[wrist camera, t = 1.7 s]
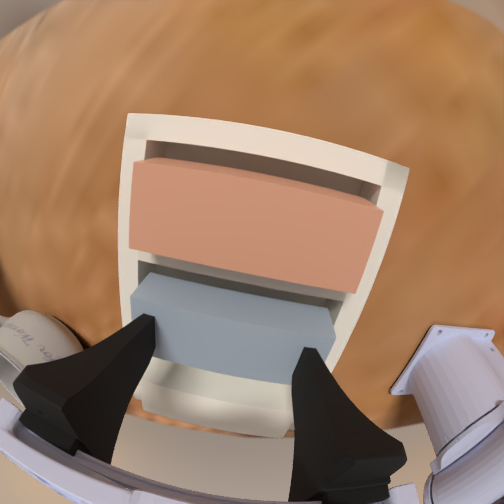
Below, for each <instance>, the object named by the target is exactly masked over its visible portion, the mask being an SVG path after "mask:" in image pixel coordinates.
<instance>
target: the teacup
mask: <svg viewBox="0 0 504 504" xmlns="http://www.w3.org/2000/svg"><path fill="white" fill-rule="evenodd" d="M0 326H1V327H0V382H1V384H2V385H3V386H4V387H5V389H6V390H7V391H8V392H9V393H10V394H11V395H12V396H13V397H14V398H15V399H16V400H17V401H18V402H19V403H20V404H21V405H22V406H24V405H23V403H22V402H21V400H20V399H19V397H18V396H17V394H16V392H15V390H14V388H13V382H14V380H15V379H16V378H17V377H18V375H19V374H20V373H21V372H22V370H23V369H24V368H25V367H26V366H27V365H32V364H39V363H45V362H50V361H54V360H58V359H61V358H64V357H67V356H70V355H73V354H76V353H78V352H81V351H83V350H84V349H83V347H82V345H81V344H80V342H79V341H78V339H77V338H76V337H75V335H74V334H73V333H72V332H71V331H70V330H69V329H68V328H67V327H66V326H65V325H64V324H63V323H61V322H60V321H59V320H57V319H56V318H54V317H52V316H50V315H47V314H43V313H39V312H36V311H33V310H24V311H21V312H18V313H17V314H15V315H13V316H12V317H5V316H2V315H0ZM24 407H25V406H24Z"/></svg>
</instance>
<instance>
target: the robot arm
mask: <svg viewBox="0 0 504 504" xmlns="http://www.w3.org/2000/svg"><path fill="white" fill-rule="evenodd" d="M494 334H495V332H494V331H493V330H491V329H478V328H466V327H455V326H444V325H433V326H432V327H431V328H430V329H429V331H428V333H427V334H426V336H425V338H424V339H423V341H422V343H421V345H420V346H419V348H418V349H417V351H416V353H415V354H414V356H413V357H412V359H411V361H410V362H409V364H408V365H407V367H406V368H405V370H404V371H403V373H402V374H401V376H400V377H399V378H398V380H397V381H396V383H395V384H394V385H393V387H392V388H391V390H390V392H391V394H392V395H409V394H413V395H414V398H415V400H416V403H417V405H418V408H419V410H420V413H421V415H422V418H423V420H424V423H425V426H426V428H427V431H428V433H429V436H430V439H431V442H432V445H433V447H434V451H435V454H436V457H437V458H436V459H435V460H434V461H432V462H431V463H430V466H431V469H432V473H431V474H430V475H429V476H428V478H427V480H426V483H425V487H424V493H423V503H424V504H504V357H503V356H502V355H501V353H500V352H499V351H498V349H497V348H496V347H495V346H494V344H493V343H492V342H491V340H492V338H493V336H494ZM155 348H156V341H155V316H152V315H148V314H144V313H143V314H142V315H140V316H139V317H137V318H136V319H134V320H133V321H132V322H130V323H129V324H127V325H126V326H124V327H123V328H122V329H120V330H119V331H117V332H116V333H114V334H113V335H111V336H109V337H108V338H106V339H104V340H103V341H101V342H99V343H97V344H96V345H94V346H92V347H90V348H87V349H85V350H83V351H81V352H78V353H76V354H73V355H70V356H67V357H64V358H61V359H58V360H54V361H50V362H45V363H39V364H32V365H27V366H26V367H25V368H24V369H23V370H22V372H21V373H20V374H19V375H18V377H17V378H16V379H15V380H14V382H13V388H14V390H15V392H16V394H17V396H18V397H19V399H20V400H21V402H22V403H23V405H24V406H25V408H26V409H25V411H24V412H22V411H21V410H20V409H19V408H18V407H16V406H15V405H14V404H12V403H11V402H10V401H8V400H7V399H6V398H2V399H1V400H0V451H1V452H2V453H3V454H4V455H5V456H6V457H8V458H9V459H10V460H11V461H13V462H14V463H15V464H17V465H18V466H19V467H20V468H22V469H23V470H24V471H26V472H27V473H28V474H30V475H31V476H33V477H34V478H35V479H37V480H38V481H40V482H41V483H43V484H44V485H46V486H47V487H49V488H50V489H52V490H54V491H55V492H57V493H58V494H60V495H62V496H63V497H65V498H67V499H69V500H70V501H72V502H74V503H76V504H419V500H418V495H417V491H416V487H415V483H409V484H404V485H400V486H396V487H393V488H390V489H388V484H389V483H390V482H391V480H390V476H391V475H392V474H393V473H395V472H396V471H397V470H399V469H400V468H401V467H402V466H403V465H404V464H405V463H406V461H407V457H406V453H405V449H404V446H403V444H402V442H400V441H398V440H397V439H395V438H393V437H392V436H390V435H389V434H387V433H386V432H384V431H383V430H382V429H380V428H379V427H378V426H376V425H375V424H374V423H373V422H372V421H370V420H369V419H368V418H367V417H366V416H365V415H364V414H363V413H362V412H361V411H360V410H359V409H358V408H357V407H356V406H355V405H354V404H353V403H352V401H351V400H350V399H349V398H348V397H347V396H346V394H345V393H344V392H343V390H342V389H341V388H340V386H339V385H338V383H337V382H336V380H335V379H334V377H333V376H332V374H331V373H330V371H329V369H328V368H327V366H326V364H325V363H324V361H323V359H322V357H321V356H320V354H319V352H318V351H317V349H316V348H310V347H304V348H303V350H302V353H301V355H300V358H299V360H298V362H297V365H296V367H295V369H294V372H293V374H292V387H291V395H292V407H293V419H294V432H295V440H294V459H293V470H292V478H291V487H290V493H289V499H288V502H276V501H259V500H248V499H239V498H230V497H224V496H218V495H212V494H206V493H201V492H196V491H192V490H187V489H183V488H179V487H175V486H171V485H168V484H164V483H161V482H157V481H154V480H150V479H147V478H144V477H141V476H139V475H135V474H133V473H130V472H127V471H125V470H122V469H120V468H117V467H115V466H112V465H111V460H112V456H113V451H114V447H115V443H116V440H117V436H118V433H119V430H120V427H121V424H122V421H123V418H124V415H125V412H126V410H127V407H128V404H129V402H130V400H131V397H132V395H133V394H134V392H135V390H136V388H137V386H138V384H139V382H140V380H141V379H142V377H143V375H144V373H145V371H146V369H147V367H148V365H149V364H150V361H151V358H152V356H153V353H154V350H155ZM126 488H128V489H126ZM129 489H130V490H129ZM132 490H133V491H132Z"/></svg>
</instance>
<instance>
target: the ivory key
mask: <svg viewBox="0 0 504 504" xmlns="http://www.w3.org/2000/svg"><path fill="white" fill-rule="evenodd" d="M139 387H140V393H141V399H142V404H143V409H144V410H145V411H148V412H151V413H154V414H158V415H161V416H164V417H168V418H171V419H175V420H179V421H183V422H187V423H191V424H195V425H199V426H204V427H208V428H213V429H218V430H224V431H229V432H235V433H241V434H248V435H255V436H263V437H272V438H283V437H284V435H285V434H286V432H287V431H288V429H289V427H290V426H291V424H292V422H293V421H294V419H293V407H292V395H291V387H292V385H286V384H279V383H271V382H265V381H258V380H252V379H246V378H241V377H235V376H230V375H225V374H220V373H215V372H211V371H206V370H202V369H197V368H193V367H189V366H185V365H181V364H177V363H173V362H170V361H166V360H163V359H159V358H156V357H152V358H151V361H150V364H149V365H148V367H147V369H146V371H145V373H144V375H143V377H142V379H141V380H140V382H139Z"/></svg>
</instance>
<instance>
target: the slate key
mask: <svg viewBox="0 0 504 504" xmlns="http://www.w3.org/2000/svg"><path fill="white" fill-rule="evenodd" d="M130 303H131V318H132V321H133V320H134V319H136V318H137V317H139V316H140V315H142V314H143V313H144V314H148V315H152V316H155V341H156V348H155V350H154V353H153V356H152V357H156V358H159V359H163V360H166V361H170V362H173V363H177V364H181V365H185V366H189V367H193V368H197V369H202V370H206V371H211V372H215V373H220V374H225V375H230V376H235V377H241V378H246V379H252V380H258V381H265V382H271V383H279V384H286V385H292V374H293V372H294V369H295V367H296V365H297V362H298V360H299V358H300V355H301V353H302V350H303V348H304V347H310V348H316V349H317V351H318V352H319V354H320V356H321V357H322V359H323V361H324V363H325V361H326V359H327V357H328V355H329V353H330V351H331V348H332V346H333V344H334V342H335V340H336V334H335V331H334V327H333V324H332V320H331V317H330V313H329V310H328V308H325V307H319V306H313V305H307V304H301V303H296V302H290V301H284V300H279V299H274V298H268V297H263V296H258V295H253V294H248V293H242V292H238V291H233V290H228V289H223V288H218V287H213V286H209V285H204V284H199V283H195V282H190V281H186V280H181V279H177V278H173V277H168V276H164V275H160V274H156V273H151V272H150V273H149V274H148V275H147V276H146V278H145V279H144V280H143V281H142V282H141V284H140V285H139V286H138V287H137V288H136V289H135V291H134V292H133V293H132V294H131V295H130Z"/></svg>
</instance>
